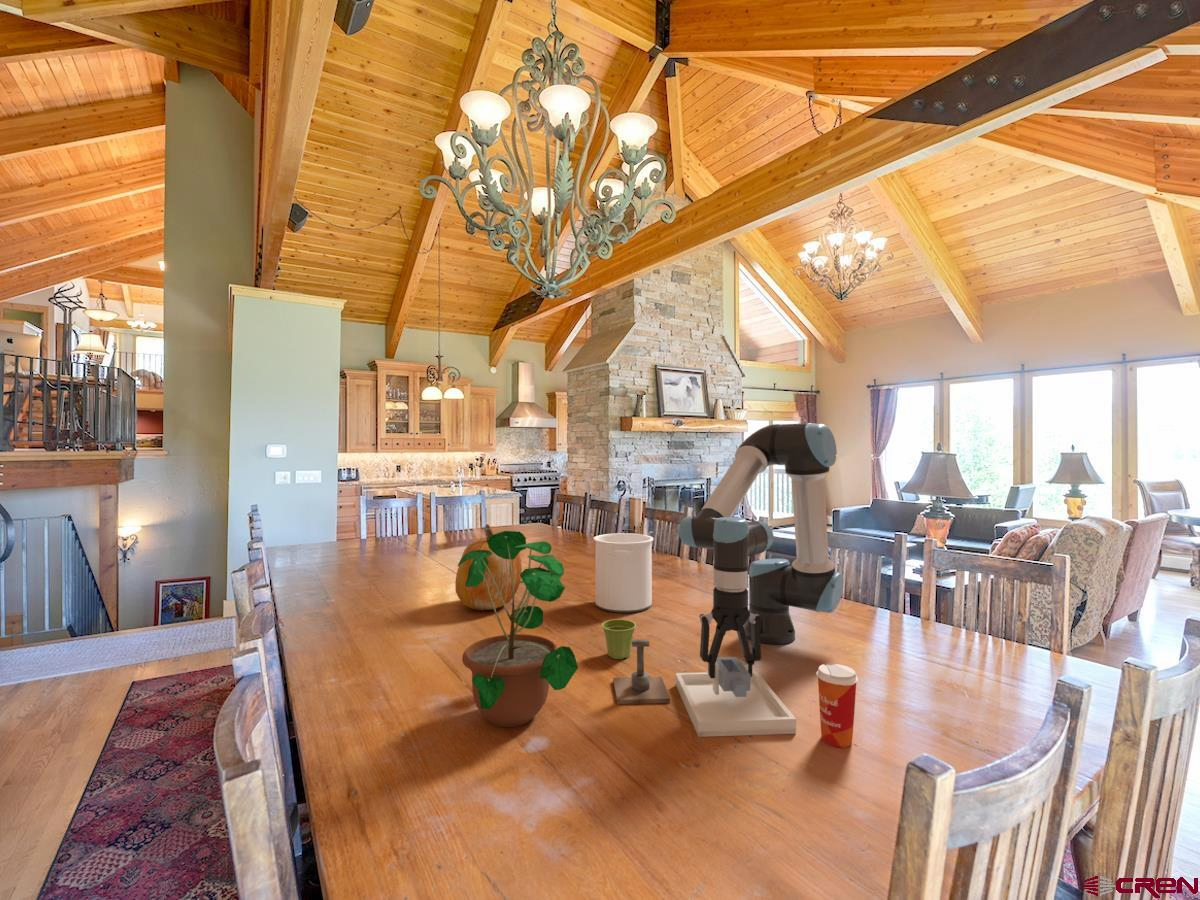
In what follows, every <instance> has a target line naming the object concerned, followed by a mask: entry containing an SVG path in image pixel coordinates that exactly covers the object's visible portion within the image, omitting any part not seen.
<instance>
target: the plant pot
mask: <svg viewBox="0 0 1200 900" xmlns="http://www.w3.org/2000/svg"><path fill="white" fill-rule="evenodd" d="M636 624H637V623H635V622H634V621H632V620H630V619H629V620H628V619H619V618H618V619H617V618H616V619H609V620H605V621H604V622H602V623H601V627H602V629H603V633H604V635H605V643H606V651H607V656H608V657H610V658H611V659H614V660H624V659H625V658H627V659H628V658H630V656H631V651H632V650H631V649H632V640H633V636H634V633H635V629H636V627H637V625H636Z"/></svg>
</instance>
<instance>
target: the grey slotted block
mask: <svg viewBox="0 0 1200 900" xmlns="http://www.w3.org/2000/svg"><path fill="white" fill-rule="evenodd" d="M716 661H717V663H718V664H719V685H720V686H721V688H722V689H723V691H732V692H733V693H734V695H735V696H736V697H746V691H750V674H749V672H748V671H747V670H746V669H745V667H744V666H743V665H742V664H741V660H740V659H738V657H737V656H720V657H719V656H718V657H717V660H716Z"/></svg>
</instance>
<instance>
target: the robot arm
mask: <svg viewBox="0 0 1200 900" xmlns="http://www.w3.org/2000/svg"><path fill="white" fill-rule="evenodd" d="M837 453H838V452H837V443H836V439H835V436H834V433H833V432H832V430H831V429H830V427H829V426H827V425H826V424H824V423H813V422H812V423H811V422H808V423H807V422H806V423H804V422H803V423H785V424H784V423H783V424H779V423H778V424H777V423H775V424H769V425H766V426H764V427H762V428H760V429H757V430H756V431H754V432H753V433H752V434H750V435H749V436H748V437H747V438H746V439H744V441H743V442H742V443H741V444H740V445H739V446H738V448H737V449H736V451H735V453H734V460H733V462H732V463H731V465H730V466H729V468H728V469H727V471H726V473H725V474H724V475H723V477H722V478H721V480H720V481H719V483H718V484H717V486H716V487H715V488H714V490H713V491H712V493H711V495H710V496H709V498H708V499H707V501H706V502H705V503H704V505H703V507H702V508H701V509H700V511H699V512H698V514H697V515H696V516H694V515H691V516H686V517H684V518H682V520H681V522H680V524H679V529H678V535H679V539H680V541H681V542H682V544H684V545H685V546H689V547H693V548H697V549H706V550H713V582H712V583H713V586H714V588H713V593H712V594H713V595H712V596H713V597H712V599H713V603H712V604H713V605H712V609H711V611H710V613H707V614H704V613H701V614H699V616H698V617H699V620H700V623H701V624H700V625H701V628H700V631H701V632H700V646H699V647H700V648H699V657H700V658H701V660H702V662H704V663H707V664H708V666H707V672H708V674H709V676H710V678H713V682H712V689H713V691H714V693H715V695H719V664H718V663H717V661H716V660H717V657H719V654H720V653H719V652H720V650H721V647H722V643H723V641H724V637H725V635H726V634H727V632H729V631H736V634H737V637H738V641H739V644H740V648H741V650H742V654H743V658H744V659H741V660H740V662H741V664H742V665H743V666H744V667H745V669H746V670H747V671H748V672H749V674H750V677H752V671H753V665H755V662H756V661H758V662H760V661H761V660H762V649H761V644H768V645H784V644H788V643H792V642H794V641H795V640H796V630H795V629H796V628H795V627H794V623H793V620H792V617H791V614H790V607H793V608H794V607H795V608H798V609H802V610H808V611H812V612H816V613H819V612H820V613H826V614H831V613H833V612H835V611H836V610H837V608H838V606H839V605H840V602H841V600H842V595H843V592H844V585H845V584H844V576H843V574H842V573H840V572H839V571H836V565H835V563H834V562H833V561H832V560H831V559H830V558H829V543H828V542H829V541H828V524H827V506H826V504H827V503H826V489H825V487H826V486H825V476H827V475H828V474H829V472H830V467H832V466H834V465H835V464H836V460H837ZM775 465H777V466H784V469H785V474H786V475H787V476H788V477H789V478H790V479H791V493H792V504H793V505H792V506H793V521H794V522H793V523H794V534H795V535H794V537H795V539H794V540H795V549H796V550H795V552H796V558H795V559H794V560H793V562H791V563H790V561H789V559H786V558H765V559H764V558H763V559H759V560H754V561H752V562H751V563H750V565H749V557H751V556H752V557H753V556H754V555H760V554H762V553H764V552H766V551H767V550H769V549H770V548H771V546H773V544H774V532H773V530H772V528H771V527H770V525H769V524H768V523H766V522H764V521H760V520H751V521H748V520H747V519H746V518H743V517H737V516H736V517H735V516H733V515H735V512H736V511H737V509H738V508H739V506H740V504H741V503H742V501H743V500H744V498H745V496H746V495H747V493H748V491H749V490H750V489H751V487H752V485H753V483H754V482H755V480H756V479H757V477H758V476H759V474H761V473H763V472H765V471H766V469H767V468H768V467H769V466H775ZM790 564H791V565H790ZM747 588H749V589H747ZM712 620H714V622H715V623H716V627H715V633H714V635H713V639H712V642H711V645H710V643H709V642H710V625H711V624H712ZM748 639H749V640H751V649H750V645H749V642H748ZM709 646H710V649H709ZM746 694H748V691H746Z"/></svg>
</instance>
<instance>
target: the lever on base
mask: <svg viewBox="0 0 1200 900" xmlns="http://www.w3.org/2000/svg"><path fill="white" fill-rule="evenodd" d="M635 647H636V671H635V672H632V673H631V677H627V676H626V677H612V679H613V680H612V683H613V687H614V694H615V699H616V704H617V705H635V704H636V705H637V704H639V705H640V704H641V705H643V704H670V703H671V697H670V695H669V692H668V690H667V687H666V684H665V682H664V679H663V678H662V676H650V674H649V673H648V672H646V671H645V670H644V668H645V659H644V658H645V652H644V651H645V650H644V649H645V647H650V640H649V639H647V638H646V639H644V638H643V639H642V638H641V639H632V644H631V648H635Z"/></svg>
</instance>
